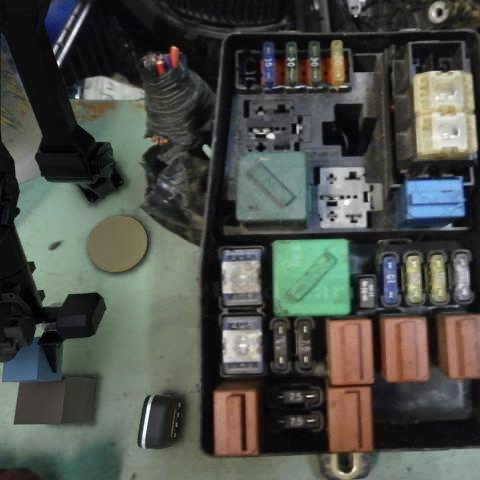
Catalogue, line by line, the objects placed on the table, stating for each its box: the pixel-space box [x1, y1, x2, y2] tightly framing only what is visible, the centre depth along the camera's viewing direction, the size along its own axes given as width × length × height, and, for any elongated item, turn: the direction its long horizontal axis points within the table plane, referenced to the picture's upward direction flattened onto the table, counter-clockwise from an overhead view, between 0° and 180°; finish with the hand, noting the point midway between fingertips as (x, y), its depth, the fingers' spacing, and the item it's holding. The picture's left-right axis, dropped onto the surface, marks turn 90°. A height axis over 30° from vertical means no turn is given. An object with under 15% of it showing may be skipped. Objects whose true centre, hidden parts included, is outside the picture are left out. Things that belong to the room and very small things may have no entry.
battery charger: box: [136, 393, 184, 450], centre depth 75 cm, size 7×4×11 cm, turn 175°
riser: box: [13, 375, 97, 426], centre depth 75 cm, size 6×6×11 cm
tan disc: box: [86, 215, 149, 273], centre depth 87 cm, size 9×9×1 cm
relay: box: [1, 336, 64, 383], centre depth 67 cm, size 4×5×7 cm
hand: (39, 372), depth 68 cm, fingers closed on relay, 4 cm apart
